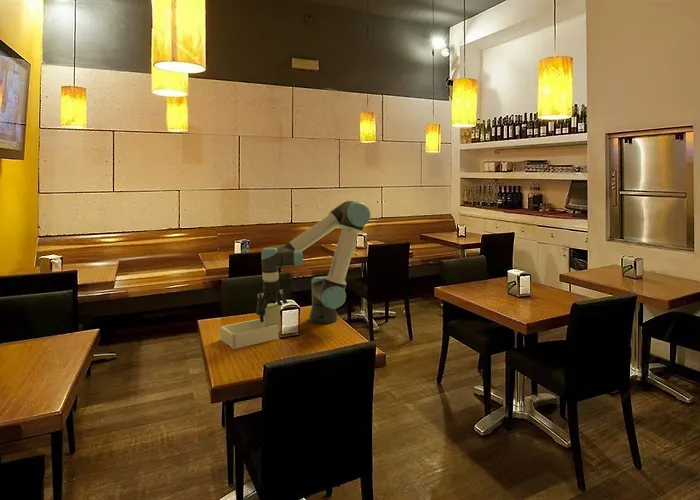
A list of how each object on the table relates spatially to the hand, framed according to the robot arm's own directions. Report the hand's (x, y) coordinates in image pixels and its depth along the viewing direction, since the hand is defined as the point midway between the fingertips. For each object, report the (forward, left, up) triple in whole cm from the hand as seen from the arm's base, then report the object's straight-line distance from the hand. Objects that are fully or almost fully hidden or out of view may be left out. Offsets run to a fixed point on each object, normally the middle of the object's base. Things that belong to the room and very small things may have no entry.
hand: (273, 326), depth 223 cm
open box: (+12, 0, -4) cm, 12 cm away
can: (0, 0, -2) cm, 2 cm away
